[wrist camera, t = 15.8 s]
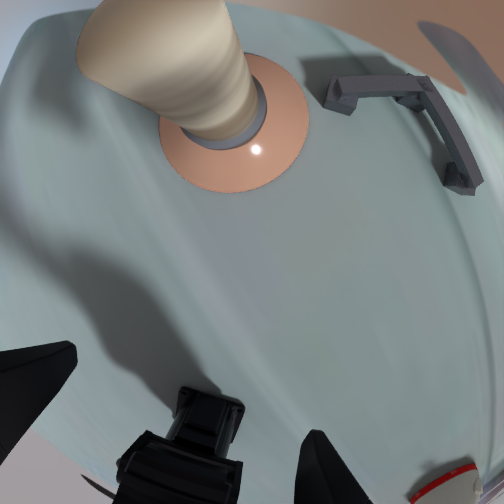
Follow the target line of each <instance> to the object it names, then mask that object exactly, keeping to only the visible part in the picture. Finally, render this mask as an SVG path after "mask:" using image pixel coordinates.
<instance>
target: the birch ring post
mask: <svg viewBox="0 0 504 504" xmlns="http://www.w3.org/2000/svg"><path fill="white" fill-rule="evenodd" d="M76 60H77V64H78V67H79V69H80V71H81V73H82V74H83V75H84V76H85V77H87V78H88V79H90V80H92V81H94V82H96V83H98V84H100V85H103V86H105V87H107V88H109V89H111V90H113V91H115V92H117V93H119V94H121V95H123V96H125V97H127V98H129V99H131V100H133V101H134V102H136V103H138V104H140V105H142V106H144V107H146V108H148V109H149V110H151V111H153V112H155V113H157V114H159V115H160V116H162V117H164V118H166V119H168V120H169V121H171V122H173V123H175V124H176V125H178V126H180V128H181V130H182V132H183V133H184V134H185V135H186V136H187V137H188V138H189V139H190V140H191V141H193V142H194V143H196V144H198V145H200V146H202V147H204V148H207V149H211V150H229V149H235V148H239V147H242V146H244V145H246V144H248V143H249V142H250V141H252V140H253V139H254V138H255V137H256V136H257V134H258V133H259V131H260V129H261V127H262V126H263V124H264V121H265V118H266V115H267V101H266V96H265V93H264V90H263V87H262V85H261V84H260V82H259V81H258V80H257V79H256V78H255V77H254V76H253V75H252V74H251V72H250V69H249V66H248V64H247V61H246V58H245V55H244V52H243V50H242V47H241V44H240V42H239V39H238V36H237V34H236V31H235V28H234V26H233V23H232V21H231V18H230V15H229V13H228V10H227V8H226V5H225V3H224V1H223V0H104V1H103V2H102V3H101V4H100V5H99V6H98V7H97V8H96V9H95V11H94V12H93V13H92V14H91V16H90V17H89V19H88V20H87V22H86V24H85V26H84V27H83V29H82V32H81V34H80V36H79V40H78V43H77V49H76Z"/></svg>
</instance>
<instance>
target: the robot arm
mask: <svg viewBox="0 0 504 504" xmlns="http://www.w3.org/2000/svg"><path fill="white" fill-rule="evenodd" d="M77 363H78V359H77V350H76V346H75V345H74V344H73V343H71V342H70V341H67V340H66V341H60V342H55V343H49V344H44V345H38V346H32V347H26V348H20V349H13V350H7V351H0V465H1V464H2V463H3V461H4V460H5V459H6V457H7V456H8V454H9V453H10V452H11V450H12V449H13V448H14V446H15V445H16V444H17V443H18V441H19V440H20V438H21V437H22V436H23V435H24V434H25V432H26V431H27V430H28V429H29V427H30V426H31V425H32V424H33V422H34V421H35V420H36V419H37V417H38V416H39V415H40V414H41V413H42V411H43V410H44V409H45V408H46V407H47V405H48V404H49V403H50V402H51V401H52V399H53V398H54V397H55V396H56V395H57V393H58V392H59V391H60V389H61V388H62V387H63V385H64V384H65V382H66V381H67V379H68V378H69V376H70V375H71V373H72V372H73V370H74V369H75V367H76V366H77ZM184 391H185V392H184ZM239 409H241V410H239ZM244 412H245V406H243V405H241V404H237V403H234V402H230V401H227V400H223V399H220V398H217V397H214V396H211V395H207V394H204V393H201V392H198V391H196V390H193V389H190V388H187V387H181V388H180V390H179V395H178V402H177V410H176V417H175V420H174V422H173V424H172V426H171V428H170V430H169V432H168V433H167V435H166V437H165V438H163V437H160V436H158V435H155V434H153V433H152V432H150V431H148V430H146V431H145V432H144V433H143V434H142V435H140V436H139V438H138V439H137V440H136V441H135V442H134V443H133V444H132V445H131V446H130V448H129V449H128V450H127V451H126V452H125V453H124V454H123V455H122V457H121V458H119V459H118V460H117V462H116V465H117V467H118V471H117V475H116V480H117V483H119V484H120V485H119V488H118V491H117V494H116V496H115V498H114V501H113V503H112V504H237V500H238V496H239V491H240V484H241V476H242V468H243V462H241V461H233V460H229V459H226V456H227V453H228V449H229V445H230V444H231V443H232V442H233V440H234V438H235V435H236V433H237V430H238V428H239V425H240V423H241V420H242V417H243V415H244ZM368 499H369V497H368V496H367V495H366V493H365V492H364V490H363V489H362V487H361V486H360V485H359V483H358V482H357V480H356V479H355V477H354V476H353V475H352V473H351V472H350V470H349V469H348V467H347V466H346V464H345V463H344V461H343V460H342V459H341V457H340V456H339V454H338V453H337V451H336V450H335V448H334V447H333V445H332V444H331V442H330V441H329V439H328V438H327V436H326V435H325V433H324V432H323V431H321V430H315V429H312V430H311V431H310V432H309V433H308V435H307V436H306V438H305V439H304V441H303V442H302V445H301V449H300V455H299V461H298V467H297V473H296V479H295V492H294V504H373V503H372V501H371V500H370V499H369V500H368Z"/></svg>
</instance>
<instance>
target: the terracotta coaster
mask: <svg viewBox="0 0 504 504" xmlns="http://www.w3.org/2000/svg"><path fill="white" fill-rule="evenodd" d="M244 55H245V58H246V61H247V64H248V66H249V69H250V72H251V74H252V75H253V76H254V77H255V78H256V79H257V80H258V81H259V82H260V84H261V85H262V87H263V90H264V93H265V96H266V101H267V115H266V118H265V121H264V124H263V126H262V127H261V129H260V131H259V133H258V134H257V136H256V137H255V138H254V139H253V140H252V141H250V142H249V143H248V144H246V145H244V146H242V147H239V148H235V149H229V150H211V149H207V148H204V147H202V146H200V145H198V144H196V143H194V142H193V141H191V140H190V139H189V138H188V137H187V136H186V135H185V134H184V133H183V132H182V130H181V128H180V126H178V125H176V124H175V123H173V122H171V121H169V120H168V119H166V118H164V117H162V116H160V122H159V135H160V141H161V145H162V148H163V151H164V153H165V156H166V158H167V160H168V161H169V163H170V164H171V166H172V167H173V168H174V169H175V170H176V172H177V173H178V174H180V175H181V176H182V177H183V178H184V179H186V180H187V181H189V182H190V183H192V184H194V185H196V186H198V187H200V188H203V189H206V190H210V191H215V192H224V193H235V192H244V191H249V190H253V189H256V188H258V187H261V186H263V185H265V184H267V183H269V182H271V181H273V180H274V179H276V178H277V177H279V176H280V175H281V174H282V173H283V172H285V171H286V170H287V169H288V168H289V167H290V165H291V164H292V163H293V162H294V161H295V159H296V158H297V156H298V155H299V153H300V151H301V149H302V147H303V145H304V142H305V139H306V135H307V131H308V125H309V113H308V105H307V102H306V98H305V96H304V93H303V91H302V89H301V87H300V86H299V84H298V83H297V81H296V80H295V79H294V78H293V76H292V75H291V74H290V73H289V72H288V71H286V70H285V69H284V68H283V67H281V66H280V65H278V64H277V63H275V62H273V61H271V60H269V59H266V58H263V57H260V56H256V55H251V54H244Z"/></svg>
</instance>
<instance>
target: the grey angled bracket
mask: <svg viewBox="0 0 504 504" xmlns="http://www.w3.org/2000/svg"><path fill="white" fill-rule="evenodd" d="M388 96H398V97H397V103H399V104H401V105H403V106H406V107H408V108H410V109H412V110H414V111H416V112H420V111H422V110H424V109H426V111H427V112H428V114H429V115H430V117H431V119H432V120H433V122H434V124H435V126H436V127H437V129H438V131H439V133H440V135H441V136H442V138H443V140H444V142H445V144H446V146H447V148H448V150H449V152H450V154H451V156H452V158H453V160H454V162H450V163H448V164H447V170H446V175H445V181H444V187H446V188H448V189H450V190H452V191H454V192H456V193H458V194H460V195H469V196H475V190H476V187H477V186H479V185H480V184H481V183H483V182H484V180H483V177H482V175H481V172H480V170H479V168H478V165H477V163H476V161H475V158H474V156H473V154H472V152H471V150H470V148H469V145H468V143H467V141H466V139H465V137H464V135H463V133H462V131H461V130H460V128H459V126H458V124H457V122H456V120H455V119H454V117H453V115H452V113H451V112H450V110H449V108H448V106H447V105H446V103H445V102H444V100H443V98H442V97H441V95H440V94H439V92H438V91H437V89H436V87H435V86H434V85H433V83H432V82H431V80H430V78H429V77H428V76H414V75H412V74H410V73H408V74H407V75H361V76H344V77H338V76H335V75H332V77H331V80H330V83H329V85H328V90H327V94H326V99H325V103H324V107H323V108H325V109H329V110H332V111H335V112H338V113H342V114H345V115H348V116H350V115H351V114H352V113H353V111H354V110H355V109H356V106H357V101H358V98H365V97H388Z"/></svg>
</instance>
